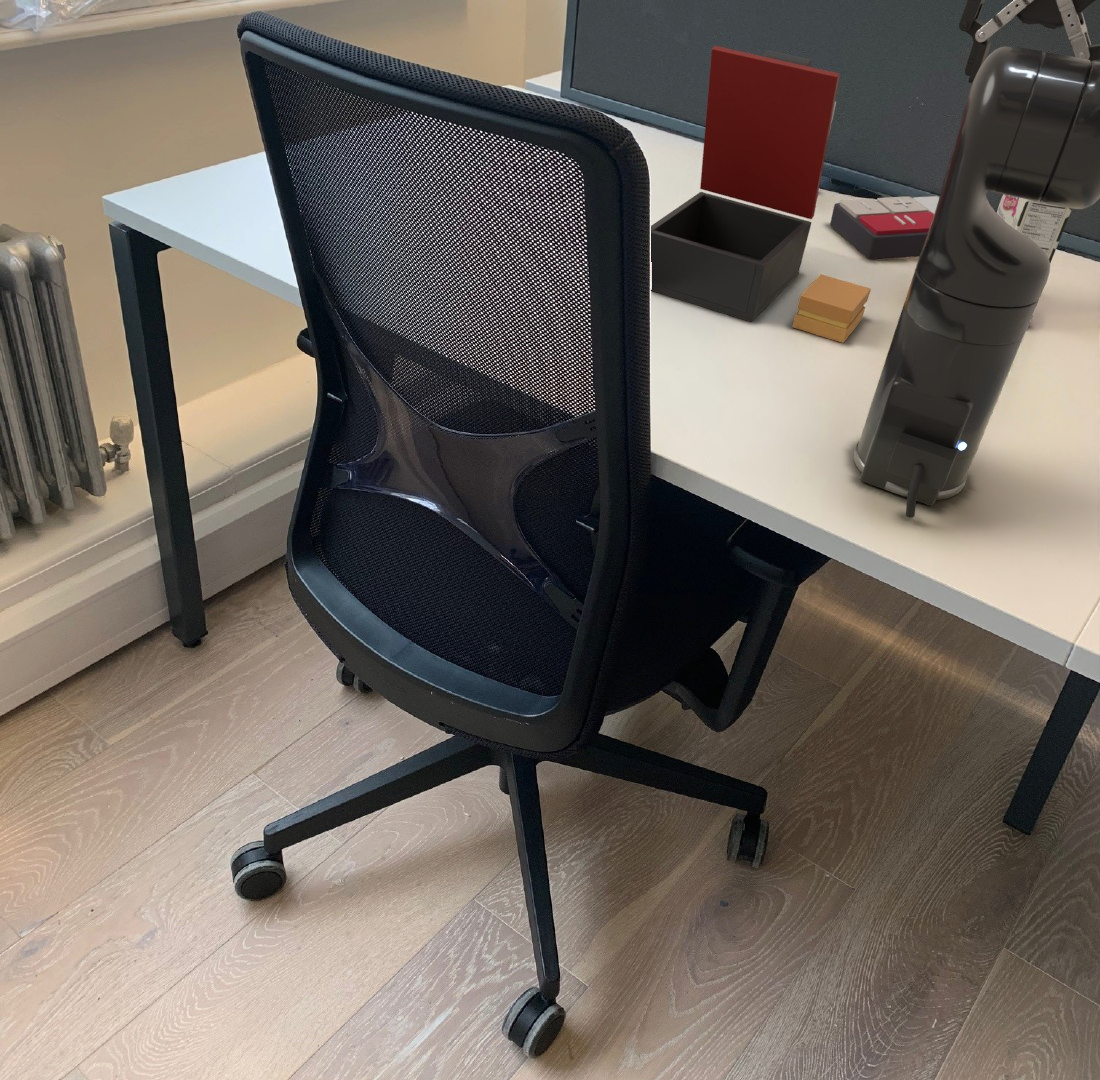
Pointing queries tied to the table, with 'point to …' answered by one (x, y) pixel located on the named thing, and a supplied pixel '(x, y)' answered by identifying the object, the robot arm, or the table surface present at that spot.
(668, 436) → the table surface
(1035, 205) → the candy bar box
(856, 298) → the sandwich
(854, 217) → the calculator
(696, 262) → the open black box
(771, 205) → the box lid
